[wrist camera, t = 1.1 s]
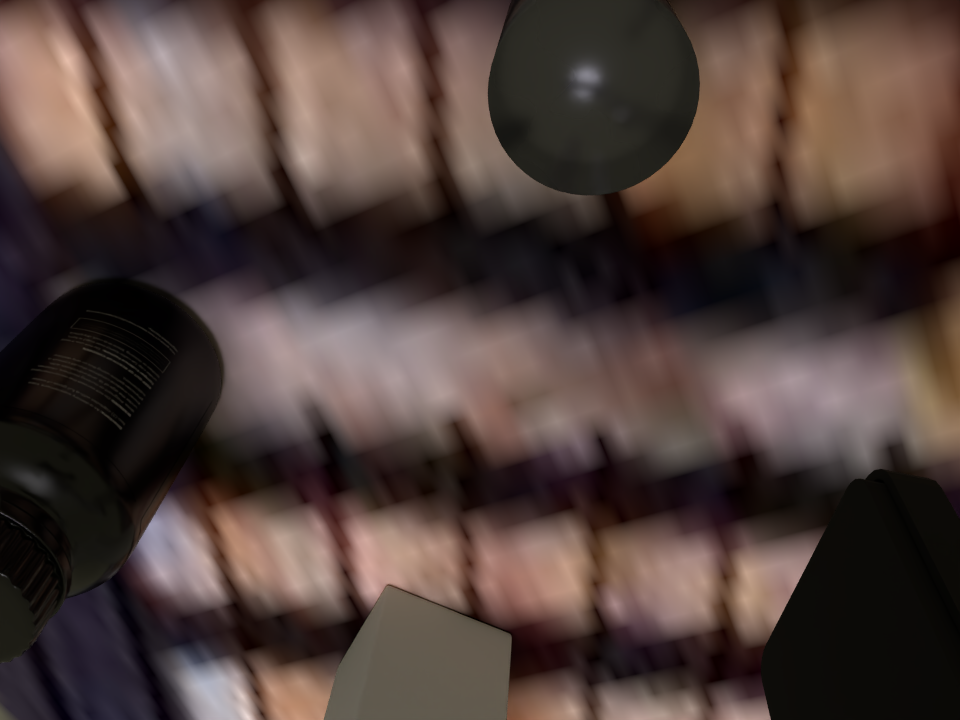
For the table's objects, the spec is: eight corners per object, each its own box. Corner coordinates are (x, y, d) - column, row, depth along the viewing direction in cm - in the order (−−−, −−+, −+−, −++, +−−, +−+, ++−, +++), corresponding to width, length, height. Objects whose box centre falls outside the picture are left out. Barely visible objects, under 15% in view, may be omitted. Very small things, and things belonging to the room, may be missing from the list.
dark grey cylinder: (679, -49, 24) (725, 0, 18) (643, 111, 27) (670, 209, 20) (521, -74, 24) (503, -34, 18) (498, 88, 27) (475, 178, 20)
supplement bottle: (4, 318, 32) (-256, 547, 22) (152, 246, 30) (-59, 460, 20) (121, 458, 35) (-60, 718, 25) (263, 400, 33) (128, 657, 23)
